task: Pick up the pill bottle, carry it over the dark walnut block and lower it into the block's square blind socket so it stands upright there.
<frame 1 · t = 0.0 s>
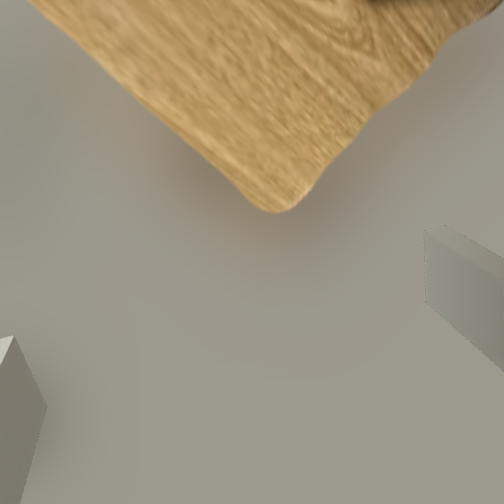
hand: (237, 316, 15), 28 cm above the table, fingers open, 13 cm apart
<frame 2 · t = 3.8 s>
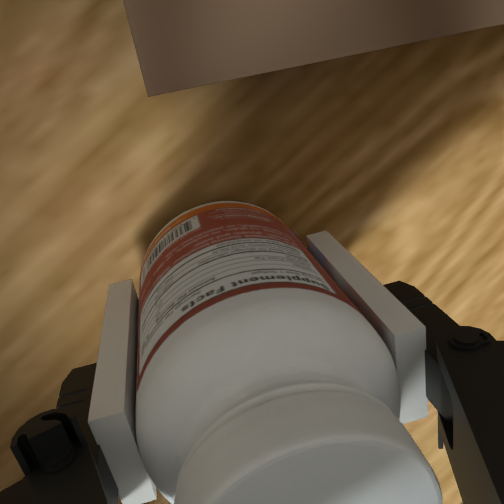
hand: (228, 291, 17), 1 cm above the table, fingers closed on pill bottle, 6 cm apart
pill bottle: (221, 272, 18), on the table, touching gripper
when the fingers open (4 cm above the table, at t = 9.2 s): pill bottle drops 2 cm, resting on bore block.
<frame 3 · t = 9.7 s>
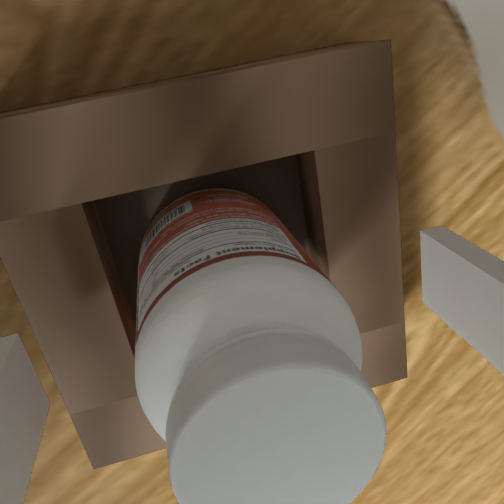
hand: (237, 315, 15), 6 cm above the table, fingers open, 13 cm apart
pill bottle: (213, 253, 20), point 1 cm above the table, touching bore block
bore block: (212, 245, 21), on the table
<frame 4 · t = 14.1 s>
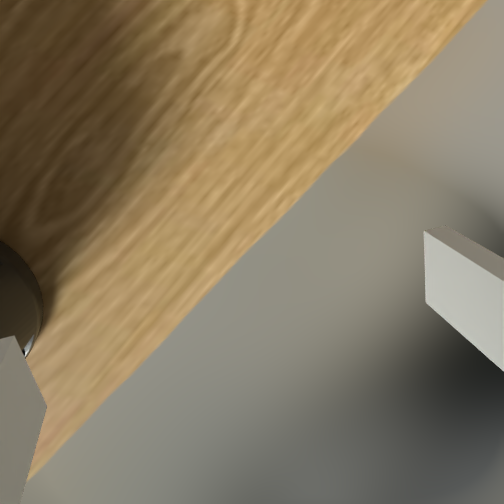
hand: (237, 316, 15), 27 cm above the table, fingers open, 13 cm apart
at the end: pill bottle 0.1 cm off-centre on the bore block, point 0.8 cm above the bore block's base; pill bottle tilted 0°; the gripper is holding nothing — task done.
